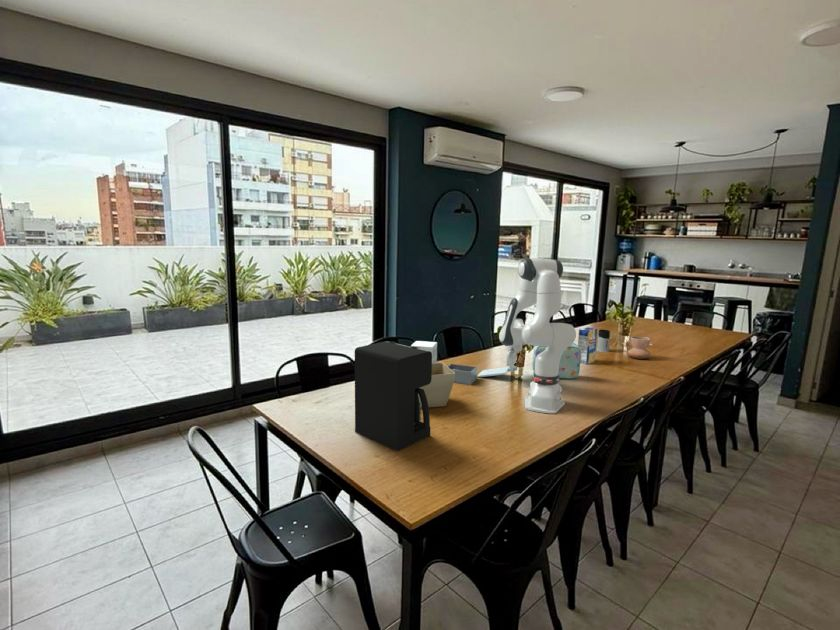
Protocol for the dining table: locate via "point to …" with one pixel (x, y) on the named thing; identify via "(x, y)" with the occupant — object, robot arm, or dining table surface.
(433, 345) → the supplement box
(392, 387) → the coffee maker
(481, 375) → the lid
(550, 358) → the robot arm
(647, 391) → the dining table surface
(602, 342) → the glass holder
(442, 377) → the flower pot
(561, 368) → the lunch box
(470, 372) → the tub
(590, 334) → the beverage box
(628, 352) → the ceramic jug
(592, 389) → the dining table surface
